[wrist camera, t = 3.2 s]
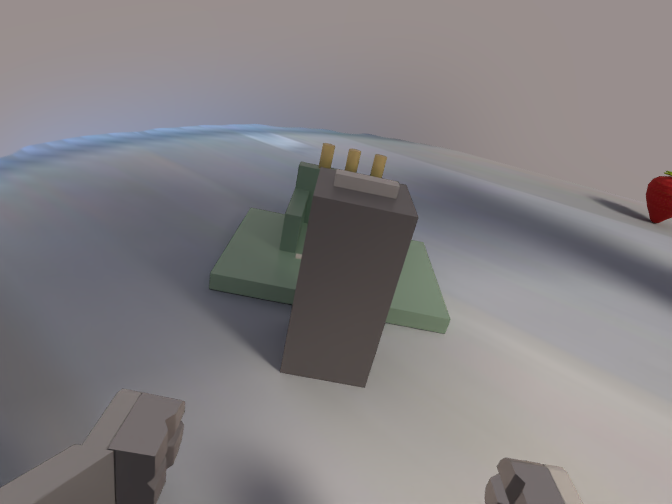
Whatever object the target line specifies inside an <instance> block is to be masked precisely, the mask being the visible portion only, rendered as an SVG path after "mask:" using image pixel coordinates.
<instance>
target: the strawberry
mask: <svg viewBox="0 0 672 504" xmlns="http://www.w3.org/2000/svg"><path fill="white" fill-rule="evenodd" d="M666 172H668V173H665V174H668V175H670V176H668V177H667V176H665V177H664V176H659V177H657V178H654V179H653V180H652V181H651V182H650V183H649V184H648V188H647V192H646V201H647V208H648V211H649V216H650V220H651V221H652V222H653V223H660V222H662V221H664V220H666V219H669V218H672V177H671V176H672V172H669V171H666Z"/></svg>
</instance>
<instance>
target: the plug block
mask: <svg viewBox="0 0 672 504" xmlns="http://www.w3.org/2000/svg"><path fill="white" fill-rule="evenodd" d="M417 220H418V215H417V212H416V210H415V207H414V204H413V202H412V199H411V196H410V194H409V191H408V188H407V186H406V185H404V184H399V183H398V182H397V181H392V180H388V179H383V178H378V177H373V176H369V175H364V174H359V173H354V172H350V171H345V170H340V169H337V170H333V169H328V168H323V167H321V168H320V172H319V175H318V179H317V183H316V187H315V191H314V195H313V199H312V205H311V210H310V215H309V221H308V226H307V231H306V237H305V242H304V247H303V252H302V258H301V263H300V268H299V274H298V279H297V284H296V289H295V295H294V300H293V305H292V311H291V316H290V321H289V327H288V332H287V337H286V342H285V348H284V353H283V358H282V364H281V369H280V372H281V373H287V374H292V375H298V376H303V377H309V378H314V379H320V380H325V381H331V382H336V383H342V384H347V385H353V386H359V387H364V388H365V385H366V382H367V379H368V376H369V373H370V369H371V366H372V363H373V360H374V357H375V354H376V350H377V347H378V344H379V341H380V338H381V335H382V331H383V328H384V325H385V322H386V319H387V316H388V312H389V309H390V306H391V303H392V300H393V296H394V293H395V290H396V287H397V284H398V281H399V277H400V274H401V271H402V268H403V265H404V262H405V258H406V255H407V252H408V249H409V246H410V243H411V239H412V236H413V233H414V230H415V227H416V223H417Z"/></svg>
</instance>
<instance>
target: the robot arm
mask: <svg viewBox="0 0 672 504" xmlns="http://www.w3.org/2000/svg"><path fill="white" fill-rule="evenodd" d="M184 412H185V401H182V400H178V399H173V398H168V397H163V396H158V395H153V394H148V393H143V392H137V391H132V390H127V389H122V390H120V391H119V392H118V393H117V394H116V395H115V397H114V398H113V400H112V401H111V403H110V404H109V406H108V407H107V409H106V410H105V411H104V413H103V414H102V416H101V417H100V419H99V420H98V422H97V423H96V425H95V426H94V428H93V429H92V431H91V432H90V433H89V435H88V436H87V438H86V439H85V441H84V442H83V444H82V445H77V444H74V445H73V446H71V447H69V448H68V449H66V450H64V451H62V452H61V453H59V454H57V455H56V456H54V457H52V458H50V459H49V460H47V461H45V462H44V463H42V464H40V465H38V466H37V467H35V468H33V469H32V470H30V471H28V472H26V473H25V474H23V475H21V476H20V477H18V478H16V479H14V480H13V481H11V482H9V483H8V484H6V485H4V486H2V487H1V488H0V504H156V503H157V501H158V498H159V496H160V494H161V491H162V489H163V487H164V485H165V482H166V469H168V468H169V467H170V466H172V465H173V463H174V461H175V459H176V456H177V454H178V451H179V447H180V444H181V441H182V436H183V430H184V424H183V422H182V421H181V419H182V417H183V414H184ZM497 469H498V472H499V474H497V475H495V476H493V477H491V478H490V479H489V481H488V483H487V485H486V489H485V504H583V502H582V500H581V498H580V496H579V494H578V492H577V490H576V488H575V486H574V485H573V483H572V481H571V479H570V477H569V475H568V473H567V472H566V471H565V470H564V469H563V468H562V467H557V466H551V465H545V464H540V463H535V462H529V461H523V460H517V459H511V458H503V459H502V460H500V462H499V464H498V465H497Z"/></svg>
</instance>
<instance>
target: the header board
mask: <svg viewBox="0 0 672 504" xmlns="http://www.w3.org/2000/svg"><path fill="white" fill-rule="evenodd" d="M334 149H335V146H334V145H332V144H328V143H323V147H322V152H321V158H320V163H319V165H315V164H310V163H305V162H300V165H299V169H298V175H297V181H296V187H295V190H294V193H293V195H292V198H291V200H290V203H289V205H288V208H287V210H286V213H285V214H280V213H275V212H270V211H265V210H261V209H256V208H250V210H249V211H248V213H247V215H246V216H245V218H244V219H243V221H242V223H241V224H240V226H239V228H238V229H237V231H236V232H235V234H234V236H233V237H232V239H231V240H230V242H229V244H228V245H227V247H226V249H225V250H224V252H223V253H222V255H221V257H220V258H219V260H218V261H217V263H216V265H215V266H214V268H213V269H212V271H211V273H210V282H209V289H213V290H218V291H223V292H229V293H234V294H239V295H244V296H250V297H255V298H260V299H265V300H271V301H276V302H281V303H286V304H292V305H293V300H294V295H295V289H296V284H297V279H298V274H299V268H300V263H301V258H302V252H303V247H304V242H305V237H306V231H307V226H308V221H309V215H310V210H311V205H312V199H313V195H314V191H315V187H316V183H317V179H318V175H319V172H320V168H321V167H323V168H328V169H333V170H337V169H334V168H331V164H332V159H333V154H334ZM360 155H361V151H359V150H356V149H349V153H348V158H347V162H346V167H345V171H350V172H354V173H356V172H357V168H358V163H359V159H360ZM386 160H387V157H386V156H383V155H379V154H376V155H375V158H374V162H373V166H372V170H371V174H370V176H373V177H378V178H382V175H383V171H384V167H385V163H386ZM398 183H399V182H398ZM449 322H450V317H449V314H448V311H447V308H446V305H445V303H444V300H443V297H442V294H441V291H440V288H439V285H438V283H437V280H436V277H435V274H434V271H433V268H432V266H431V263H430V260H429V257H428V254H427V251H426V249H425V246H424V243H423V242H418V241H413V240H411V243H410V246H409V249H408V252H407V255H406V258H405V262H404V265H403V268H402V271H401V274H400V277H399V281H398V284H397V287H396V290H395V293H394V296H393V300H392V303H391V306H390V309H389V312H388V316H387V319H386V323H391V324H396V325H402V326H407V327H412V328H417V329H423V330H428V331H433V332H438V333H444V334H445V332H446V329H447V327H448V324H449Z"/></svg>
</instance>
